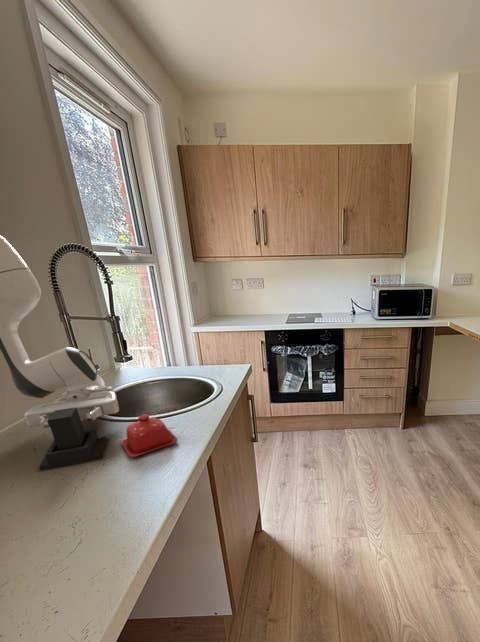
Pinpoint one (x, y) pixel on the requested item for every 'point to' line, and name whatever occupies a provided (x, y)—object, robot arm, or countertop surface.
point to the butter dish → (147, 436)
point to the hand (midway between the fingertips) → (67, 421)
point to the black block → (67, 429)
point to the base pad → (75, 452)
